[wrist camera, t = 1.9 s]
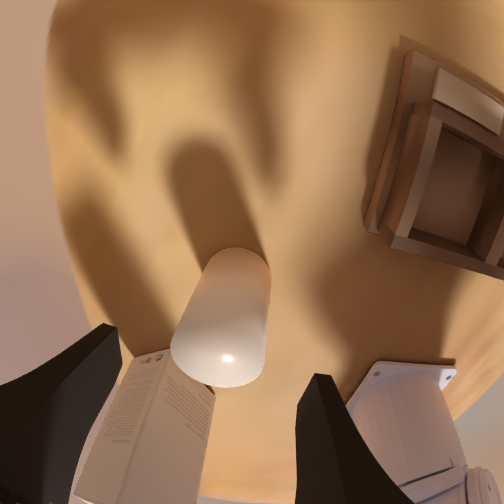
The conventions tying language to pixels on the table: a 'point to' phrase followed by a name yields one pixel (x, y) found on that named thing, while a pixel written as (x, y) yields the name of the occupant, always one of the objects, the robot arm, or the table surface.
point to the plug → (226, 321)
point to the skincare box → (150, 438)
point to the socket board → (443, 170)
